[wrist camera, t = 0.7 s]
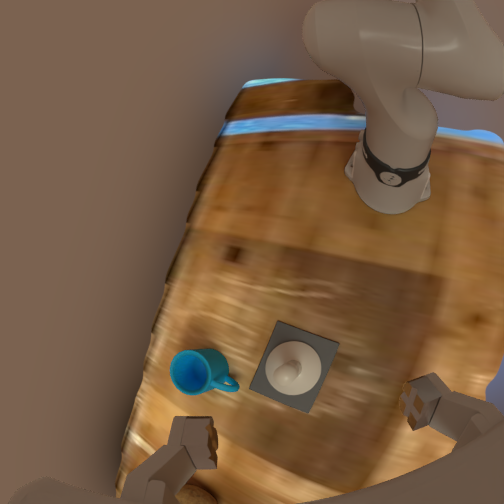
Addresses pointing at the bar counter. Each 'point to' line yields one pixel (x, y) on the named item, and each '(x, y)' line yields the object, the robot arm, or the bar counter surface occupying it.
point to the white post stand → (293, 368)
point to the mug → (201, 372)
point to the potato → (194, 495)
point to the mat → (289, 333)
